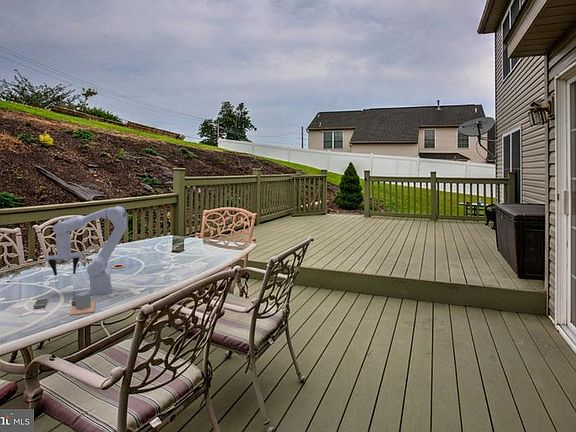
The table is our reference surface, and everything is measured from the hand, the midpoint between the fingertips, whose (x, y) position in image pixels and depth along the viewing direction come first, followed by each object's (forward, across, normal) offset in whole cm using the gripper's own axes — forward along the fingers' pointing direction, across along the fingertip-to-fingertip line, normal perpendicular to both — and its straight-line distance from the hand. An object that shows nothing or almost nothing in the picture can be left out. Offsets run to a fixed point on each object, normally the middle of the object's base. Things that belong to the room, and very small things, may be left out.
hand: (65, 274), depth 172 cm
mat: (+9, -9, +25) cm, 28 cm away
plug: (+9, -7, +23) cm, 26 cm away
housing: (+9, +1, +14) cm, 17 cm away
